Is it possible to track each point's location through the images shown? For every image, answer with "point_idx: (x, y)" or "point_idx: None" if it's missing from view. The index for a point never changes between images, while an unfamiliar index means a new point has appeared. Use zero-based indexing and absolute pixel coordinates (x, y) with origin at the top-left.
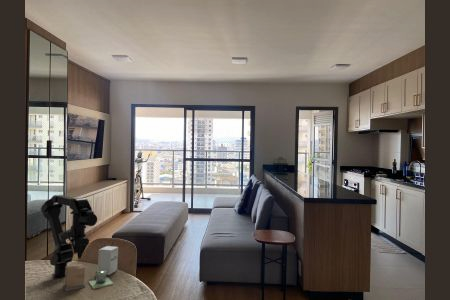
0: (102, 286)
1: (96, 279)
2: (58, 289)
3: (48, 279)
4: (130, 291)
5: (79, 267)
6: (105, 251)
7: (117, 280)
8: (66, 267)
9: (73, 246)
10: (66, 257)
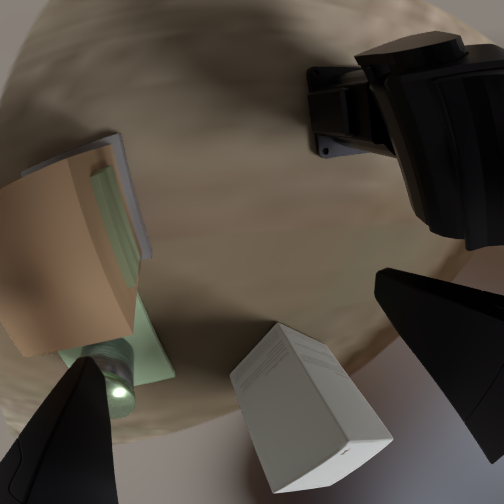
0: (61, 354)
1: (88, 349)
2: (72, 112)
3: (307, 38)
4: (29, 418)
5: (19, 318)
6: (297, 466)
7: (139, 402)
8: (29, 176)
9: (470, 316)
10: (403, 155)
